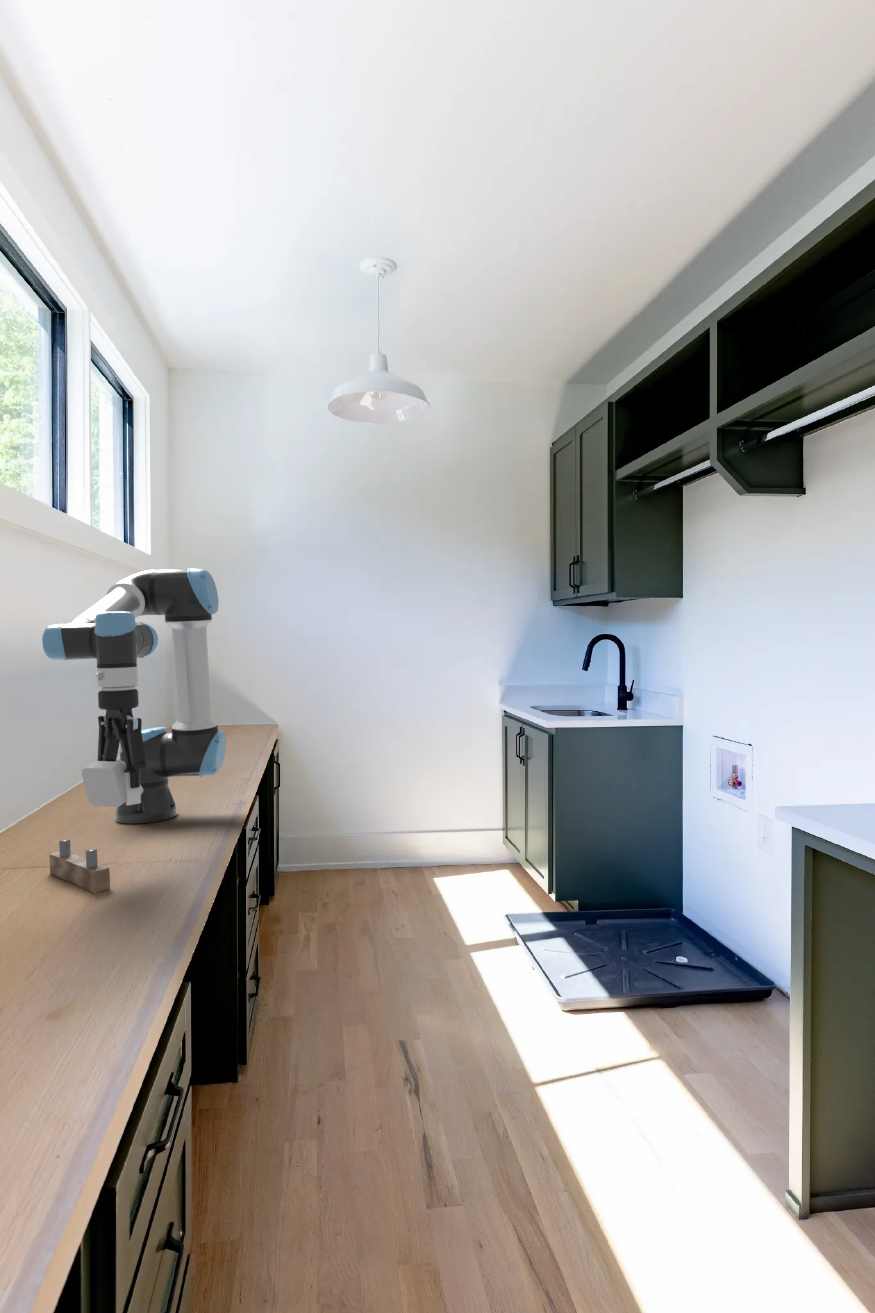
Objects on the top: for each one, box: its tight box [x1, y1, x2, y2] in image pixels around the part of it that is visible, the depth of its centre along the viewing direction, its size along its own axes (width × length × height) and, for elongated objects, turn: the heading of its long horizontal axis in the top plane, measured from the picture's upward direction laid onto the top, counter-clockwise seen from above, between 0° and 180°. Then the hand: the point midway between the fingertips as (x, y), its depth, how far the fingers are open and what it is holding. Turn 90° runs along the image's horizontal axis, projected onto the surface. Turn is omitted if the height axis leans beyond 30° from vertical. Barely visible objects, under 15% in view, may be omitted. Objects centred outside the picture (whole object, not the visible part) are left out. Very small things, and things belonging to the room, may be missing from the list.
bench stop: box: [48, 839, 111, 894], centre depth 159 cm, size 20×3×7 cm, turn 47°
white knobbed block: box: [81, 759, 143, 808], centre depth 164 cm, size 8×10×10 cm
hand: (122, 801), depth 164 cm, fingers closed on white knobbed block, 8 cm apart
